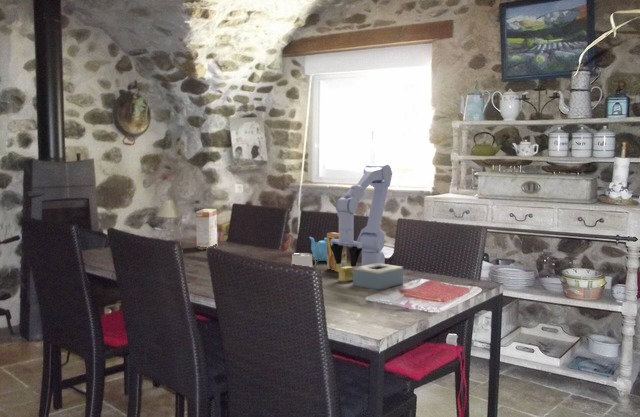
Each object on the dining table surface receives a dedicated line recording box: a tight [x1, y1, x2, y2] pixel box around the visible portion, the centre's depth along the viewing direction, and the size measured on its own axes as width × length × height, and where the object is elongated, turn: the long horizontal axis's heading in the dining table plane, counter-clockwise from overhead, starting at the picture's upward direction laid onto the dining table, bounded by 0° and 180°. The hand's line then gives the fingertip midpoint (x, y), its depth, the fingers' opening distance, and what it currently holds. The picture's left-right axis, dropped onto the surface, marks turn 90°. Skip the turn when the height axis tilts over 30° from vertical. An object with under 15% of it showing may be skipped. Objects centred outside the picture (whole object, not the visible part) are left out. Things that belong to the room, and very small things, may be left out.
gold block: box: [338, 265, 354, 283], centre depth 234 cm, size 5×3×5 cm, turn 136°
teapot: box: [308, 236, 327, 263], centre depth 277 cm, size 15×15×10 cm
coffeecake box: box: [195, 208, 218, 248], centre depth 313 cm, size 15×7×20 cm, turn 174°
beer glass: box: [291, 252, 313, 267], centre depth 203 cm, size 7×7×15 cm
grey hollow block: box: [352, 263, 404, 291], centre depth 226 cm, size 14×12×6 cm
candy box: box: [326, 231, 347, 273], centre depth 254 cm, size 9×4×15 cm, turn 33°
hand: (346, 264), depth 234 cm, fingers open, 7 cm apart
